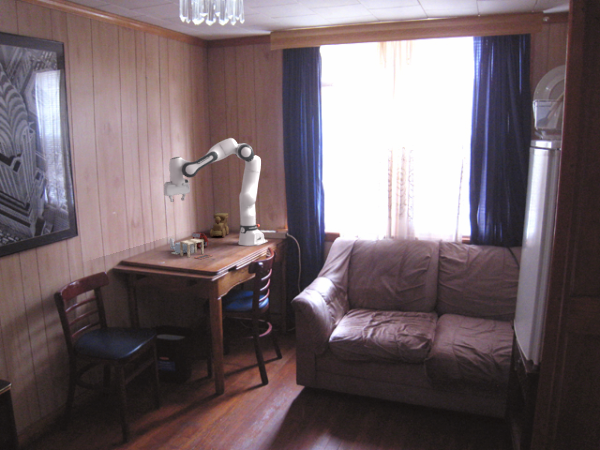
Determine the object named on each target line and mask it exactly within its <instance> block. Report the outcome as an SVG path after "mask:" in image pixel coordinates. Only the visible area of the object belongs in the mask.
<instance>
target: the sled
mask: <svg viewBox="0 0 600 450" xmlns="http://www.w3.org/2000/svg"><path fill="white" fill-rule="evenodd" d="M180 242H181V241H179V242H175V239H174V238H173V237H170V238H169V249H170V250H174V252H177V253H180ZM185 253H187V244H183V254H185ZM190 254H195V253H194V244H190Z"/></svg>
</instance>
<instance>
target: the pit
mask: <svg viewBox="0 0 600 450" xmlns="http://www.w3.org/2000/svg"><path fill="white" fill-rule="evenodd" d="M211 256H212V257H213V255H212V254H205V253H204V254H201V255H198V256H194V259H196V258H197V260H204V259H207V257H208V258H211Z"/></svg>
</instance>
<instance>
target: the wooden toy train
mask: <svg viewBox="0 0 600 450" xmlns="http://www.w3.org/2000/svg"><path fill="white" fill-rule="evenodd" d="M213 219H214V223H213V226H212V228H210V231H209V234H210V237H211V238H214V237H215V236H217V237H218V236H219V237H221V236H222V238H226V236H227V235H229V233H230V228H229V226H228V219H229V213H227V212H217V213H214V214H213Z"/></svg>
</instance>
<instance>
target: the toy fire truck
mask: <svg viewBox="0 0 600 450" xmlns="http://www.w3.org/2000/svg"><path fill="white" fill-rule="evenodd" d="M191 236H192V239H195V238H196V239H201V240H203V244H204V248H207V247H208V246H209V240H208V237H207V235H206V234H205V233H204V232H202V233H201V232H192V233H191ZM196 244H197V248H199V249H200V248H201V242H198V243H196Z"/></svg>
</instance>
